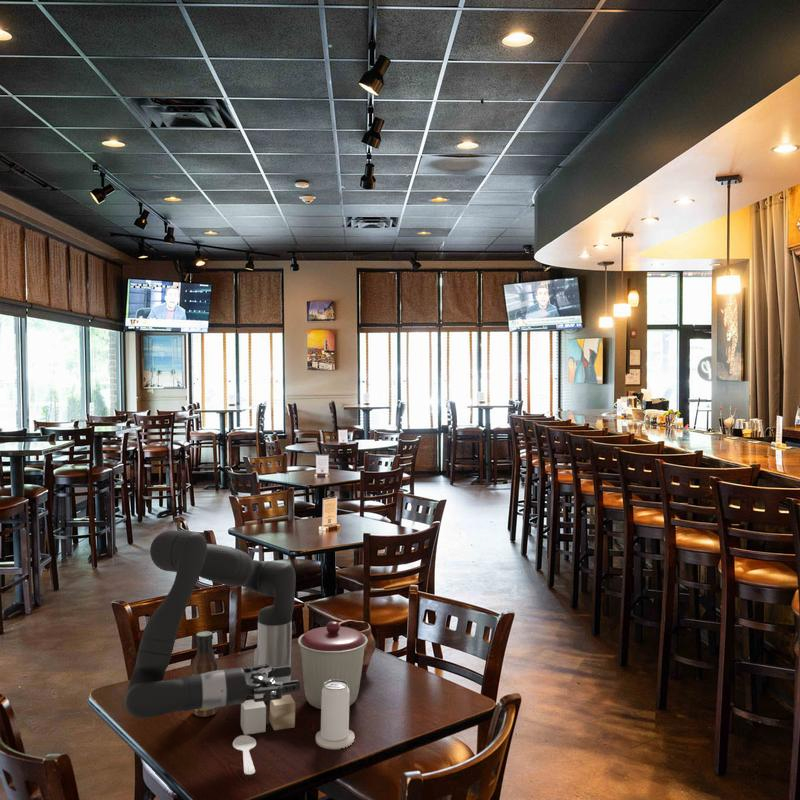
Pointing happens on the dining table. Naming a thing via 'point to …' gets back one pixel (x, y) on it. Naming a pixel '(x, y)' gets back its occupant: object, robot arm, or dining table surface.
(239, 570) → the robot arm
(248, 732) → the white rectangular block
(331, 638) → the canister
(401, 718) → the dining table surface
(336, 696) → the can
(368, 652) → the decorative planter
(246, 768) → the spoon
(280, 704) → the beech block
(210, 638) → the sauce bottle
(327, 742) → the cream saucer
